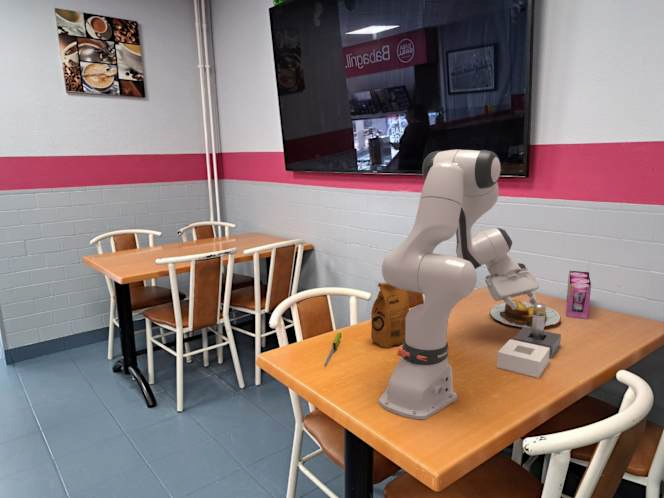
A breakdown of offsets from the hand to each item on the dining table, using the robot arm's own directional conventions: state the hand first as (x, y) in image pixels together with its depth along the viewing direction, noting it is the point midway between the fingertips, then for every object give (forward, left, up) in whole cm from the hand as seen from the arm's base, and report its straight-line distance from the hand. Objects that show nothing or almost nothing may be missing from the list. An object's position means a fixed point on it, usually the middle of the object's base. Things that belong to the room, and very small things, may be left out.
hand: (525, 306), depth 158 cm
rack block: (-18, -5, -13) cm, 23 cm away
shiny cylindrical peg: (-2, -5, -13) cm, 14 cm away
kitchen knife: (-45, +48, -13) cm, 67 cm away
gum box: (+46, -9, -13) cm, 49 cm away
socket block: (-2, -5, -13) cm, 14 cm away
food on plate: (+24, +6, -13) cm, 28 cm away
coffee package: (-25, +38, -13) cm, 47 cm away
